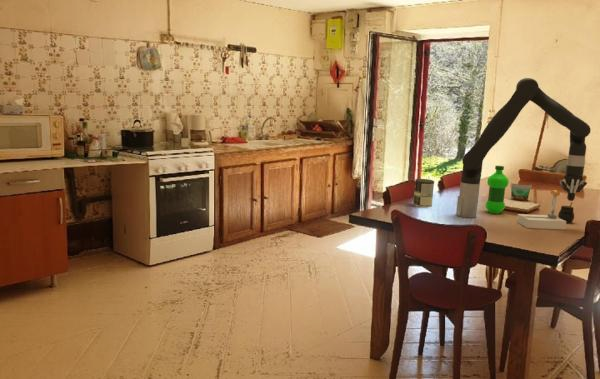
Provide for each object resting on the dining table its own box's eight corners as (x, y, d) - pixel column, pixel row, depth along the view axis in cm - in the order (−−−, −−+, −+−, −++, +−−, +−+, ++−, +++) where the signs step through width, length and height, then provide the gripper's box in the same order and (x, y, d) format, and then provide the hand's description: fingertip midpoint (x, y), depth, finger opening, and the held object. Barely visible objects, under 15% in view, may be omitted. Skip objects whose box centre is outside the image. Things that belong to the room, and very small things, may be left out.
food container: (510, 200, 314) (512, 184, 313) (508, 198, 320) (510, 182, 319) (531, 202, 312) (533, 186, 310) (529, 200, 318) (531, 184, 316)
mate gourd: (555, 221, 262) (557, 202, 260) (560, 219, 267) (563, 200, 265) (570, 224, 257) (573, 204, 255) (575, 222, 262) (578, 203, 260)
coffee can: (410, 205, 285) (412, 180, 283) (416, 202, 294) (418, 178, 291) (428, 208, 280) (431, 182, 277) (434, 205, 289) (436, 180, 286)
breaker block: (527, 227, 244) (528, 219, 244) (516, 221, 256) (517, 213, 256) (565, 229, 245) (566, 221, 244) (552, 223, 257) (553, 215, 256)
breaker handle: (551, 218, 248) (554, 191, 245) (546, 216, 252) (550, 189, 250) (557, 218, 248) (561, 191, 245) (552, 216, 252) (556, 189, 250)
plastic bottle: (506, 212, 279) (511, 166, 274) (502, 215, 270) (508, 168, 265) (486, 209, 284) (491, 164, 279) (482, 212, 275) (487, 166, 270)
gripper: (584, 164, 249) (579, 199, 252) (557, 163, 249) (552, 198, 252) (593, 166, 242) (588, 202, 245) (565, 165, 242) (560, 201, 245)
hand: (570, 200), depth 249 cm, fingers closed
